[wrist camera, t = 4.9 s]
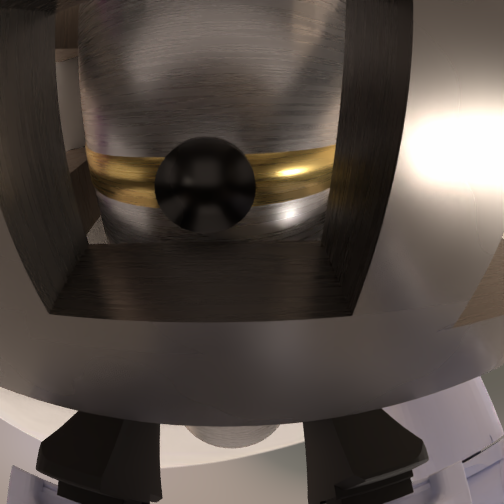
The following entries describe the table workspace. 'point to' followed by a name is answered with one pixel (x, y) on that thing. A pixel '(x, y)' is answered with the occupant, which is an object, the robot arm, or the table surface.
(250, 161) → the grey metal cylinder
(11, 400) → the table surface
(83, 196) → the brown bracket plates
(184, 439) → the table surface
